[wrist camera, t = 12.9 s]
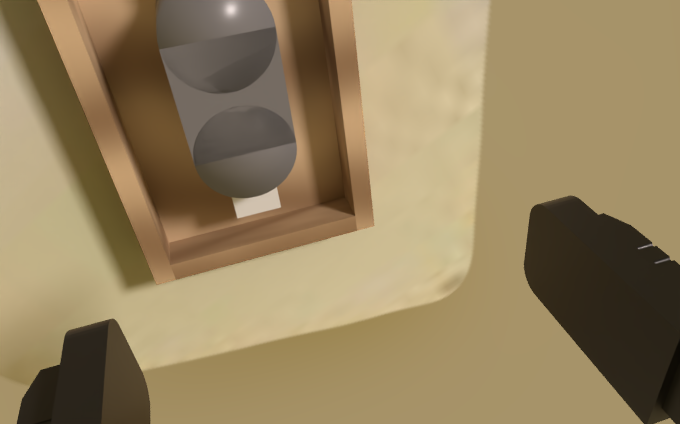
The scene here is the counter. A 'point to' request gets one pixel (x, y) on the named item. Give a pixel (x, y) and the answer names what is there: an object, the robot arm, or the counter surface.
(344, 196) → the oak tray
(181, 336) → the counter surface
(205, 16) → the gray bottle
